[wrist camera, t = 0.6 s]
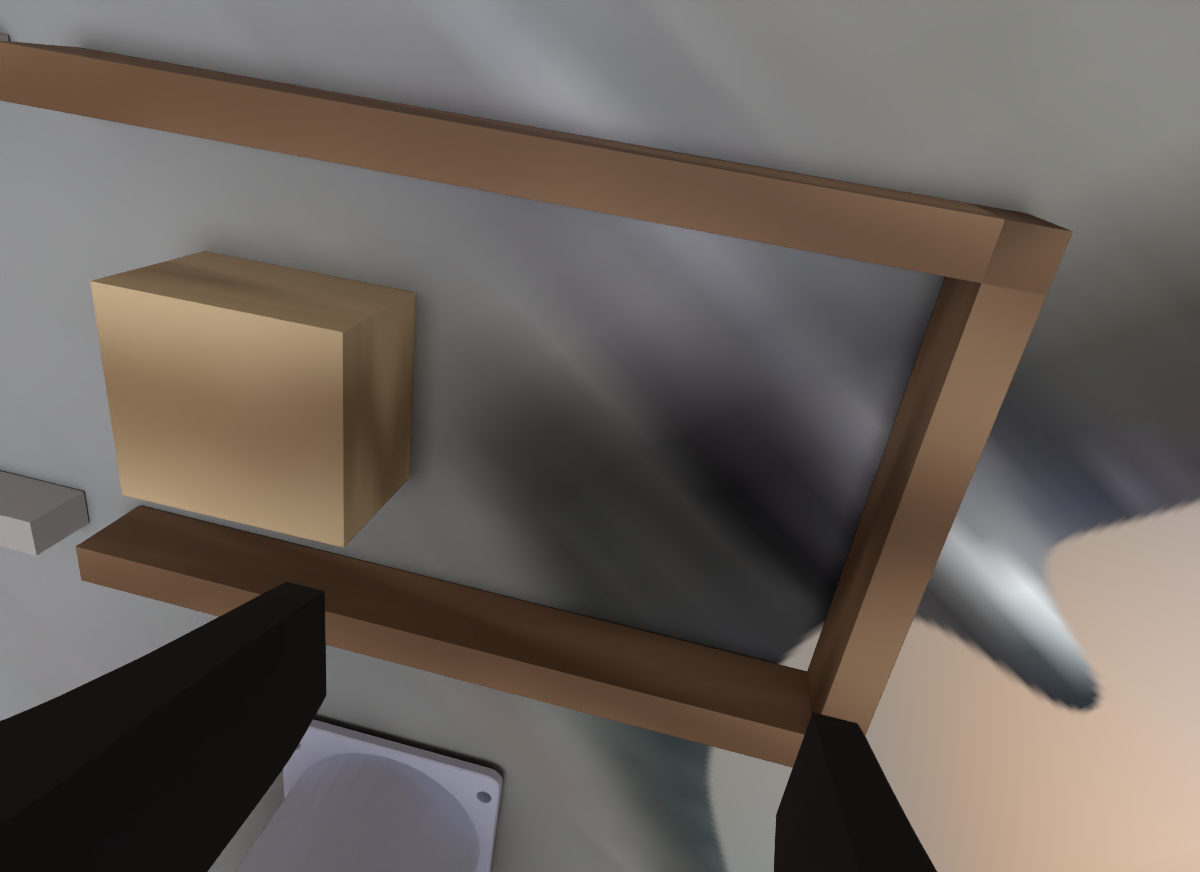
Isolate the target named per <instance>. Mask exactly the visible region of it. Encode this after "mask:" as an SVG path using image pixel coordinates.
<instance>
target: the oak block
mask: <svg viewBox="0 0 1200 872" xmlns="http://www.w3.org/2000/svg"><path fill="white" fill-rule="evenodd" d="M90 282H91V289H92V296H93V302H94V309H95V316H96V322H97V329H98V336H99V342H100V349H101V356H102V362H103V369H104V376H105V382H106V389H107V396H108V402H109V409H110V416H111V422H112V429H113V436H114V442H115V449H116V456H117V462H118V469H119V476H120V482H121V489H122V495H125V496H129V497H133V498H137V499H141V500H146V501H150V502H154V503H158V504H162V505H167V506H171V507H175V508H179V509H183V510H188V511H192V512H196V513H200V514H204V515H209V516H213V517H217V518H221V519H225V520H230V521H234V522H238V523H242V524H246V525H251V526H255V527H259V528H263V529H267V530H272V531H276V532H280V533H284V534H288V535H293V536H297V537H301V538H305V539H309V540H314V541H318V542H322V543H326V544H330V545H335V546H339V547H343V548H344V547H345V546H346V545H347V544H348V543H349V542H350V541H351V539H352V538H353V537H354V536H355V535H356V534H357V533H358V532H359V531H360V530H361V529H362V528H363V527H364V526H365V525H366V524H367V522H368V521H369V520H370V519H371V518H372V517H373V516H374V515H375V514H376V513H377V512H378V511H379V510H380V509H381V508H382V506H383V505H384V504H385V503H386V502H387V501H388V500H389V499H390V498H391V497H392V496H393V495H394V494H395V493H396V492H397V491H398V489H399V488H400V487H401V486H402V485H403V484H404V483H405V482H406V481H407V480H408V479H409V474H410V447H411V419H412V391H413V364H414V336H415V309H416V292H412V291H406V290H401V289H396V288H391V287H386V286H381V285H376V284H370V283H365V282H360V281H355V280H350V279H345V278H339V277H334V276H329V275H324V274H319V273H314V272H309V271H303V270H298V269H293V268H288V267H283V266H278V265H273V264H267V263H262V262H257V261H252V260H247V259H242V258H236V257H231V256H226V255H221V254H216V253H211V252H206V251H204V252H200V253H196V254H192V255H189V256H185V257H181V258H177V259H173V260H169V261H166V262H162V263H158V264H154V265H150V266H146V267H143V268H139V269H135V270H131V271H127V272H123V273H120V274H116V275H112V276H108V277H104V278H100V279H97V280H93V281H90Z"/></svg>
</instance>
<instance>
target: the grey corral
mask: <svg viewBox="0 0 1200 872" xmlns="http://www.w3.org/2000/svg"><path fill="white" fill-rule="evenodd" d="M0 41H9V39H8V35H5V34H0ZM88 523H89V521H88V515H87V509H86V503H85V497H84V492H83V491H79V490H75V489H71V488H67V487H63V486H59V485H55V484H51V483H47V482H43V481H39V480H35V479H31V478H27V477H23V476H19V475H15V474H11V473H6V472H2V471H0V546H2V547H6V548H10V549H13V550H17V551H21V552H25V553H29V554H33V555H36V556H37V555H38V554H40V553H41V552H43V551H45V550H46V549H48V548H49V547H51V546H53V545H54V544H56V543H58V542H59V541H61V540H62V539H64V538H66V537H67V536H69V535H70V534H72V533H74V532H75V531H77V530H78V529H80V528H82V527H83V526H85V525H86V524H88Z"/></svg>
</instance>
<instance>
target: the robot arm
mask: <svg viewBox="0 0 1200 872" xmlns="http://www.w3.org/2000/svg"><path fill="white" fill-rule="evenodd" d="M325 697H326V639H325V591H323V590H319V589H315V588H311V587H307V586H303V585H299V584H295V583H291V582H285V583H283V584H281V585H279V586H277V587H275V588H273V589H271V590H269V591H267V592H265V593H263V594H261V595H259V596H257V597H255V598H254V599H252V600H250V601H248V602H246V603H244V604H242V605H240V606H238V607H237V608H235V609H233V610H231V611H229V612H227V613H225V614H223V615H222V616H220V617H218V618H216V619H214V620H212V621H210V622H208V623H207V624H205V625H203V626H201V627H199V628H197V629H195V630H193V631H191V632H189V633H187V634H185V635H184V636H182V637H180V638H178V639H176V640H174V641H172V642H170V643H168V644H166V645H164V646H162V647H160V648H158V649H157V650H155V651H153V652H151V653H149V654H147V655H145V656H143V657H141V658H139V659H137V660H135V661H133V662H130V663H128V664H126V665H124V666H122V667H120V668H118V669H116V670H114V671H111V672H109V673H107V674H105V675H103V676H101V677H99V678H97V679H95V680H92V681H90V682H88V683H86V684H84V685H82V686H80V687H78V688H76V689H73V690H71V691H69V692H67V693H65V694H63V695H61V696H59V697H56V698H54V699H52V700H50V701H47V702H45V703H43V704H40V705H38V706H36V707H33V708H31V709H29V710H26V711H24V712H22V713H19V714H17V715H14V716H12V717H10V718H7V719H5V720H2V721H0V872H207V871H208V870H209V869H210V867H211V866H212V865H213V863H214V862H215V861H216V859H217V858H218V857H219V855H220V854H221V852H222V851H223V850H224V848H225V847H226V846H227V844H228V843H229V842H230V840H231V839H232V838H233V836H234V835H235V834H236V832H237V831H238V830H239V828H240V827H241V826H242V824H243V823H244V821H245V820H246V819H247V817H248V816H249V815H250V813H251V812H252V811H253V809H254V808H255V807H256V805H257V804H258V803H259V801H260V800H261V798H262V797H263V796H264V794H265V793H266V792H267V790H268V789H269V787H270V786H271V785H272V783H273V782H274V781H275V779H276V778H277V777H278V775H279V774H280V772H281V771H282V770H283V788H284V801H283V802H282V803H281V805H280V806H279V808H278V809H277V811H276V812H275V814H274V815H273V817H272V818H271V820H270V821H269V822H268V824H267V825H266V827H265V828H264V830H263V831H262V833H261V834H260V836H259V837H258V839H257V840H256V841H255V843H254V844H253V846H252V847H251V849H250V850H249V852H248V853H247V855H246V856H245V858H244V859H243V860H242V862H241V863H240V865H239V866H238V868H237V869H236V871H235V872H491V866H492V858H493V851H494V843H495V836H496V828H497V821H498V813H499V806H500V798H501V791H502V783H503V782H502V777H501V776H500V774H499V773H498V772H497V771H495V770H493V769H491V768H488V767H484V766H480V765H477V764H473V763H470V762H466V761H462V760H459V759H455V758H451V757H448V756H444V755H441V754H437V753H433V752H430V751H426V750H422V749H419V748H415V747H412V746H408V745H404V744H401V743H397V742H393V741H390V740H386V739H383V738H379V737H375V736H372V735H368V734H364V733H361V732H357V731H354V730H350V729H346V728H343V727H339V726H335V725H332V724H328V723H325V722H321V721H317V720H314V717H315V715H316V713H317V711H318V709H319V708H320V706H321V704H322V702H323V700H324V699H325ZM774 855H775V856H774V872H937V871H936V869H935V867H934V866H933V864H932V862H931V860H930V859H929V857H928V855H927V853H926V851H925V850H924V848H923V846H922V844H921V843H920V841H919V839H918V837H917V835H916V834H915V832H914V830H913V828H912V826H911V825H910V822H909V821H908V819H907V817H906V815H905V813H904V811H903V809H902V807H901V806H900V804H899V802H898V800H897V798H896V796H895V794H894V792H893V790H892V788H891V786H890V784H889V783H888V781H887V779H886V777H885V775H884V773H883V771H882V769H881V767H880V765H879V763H878V761H877V759H876V757H875V755H874V753H873V751H872V749H871V747H870V745H869V743H868V741H867V739H866V737H865V735H864V733H863V731H862V729H861V728H860V726H859V725H858V723H855V722H851V721H847V720H842V719H838V718H834V717H830V716H826V715H822V714H818V713H814V712H812V715H811V718H810V721H809V724H808V726H807V729H806V732H805V735H804V738H803V741H802V743H801V746H800V749H799V752H798V755H797V758H796V760H795V763H794V766H793V769H792V772H791V775H790V778H789V780H788V783H787V786H786V789H785V792H784V795H783V797H782V800H781V803H780V806H779V809H778V811H777V814H776V833H775V854H774Z"/></svg>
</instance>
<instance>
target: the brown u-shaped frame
mask: <svg viewBox="0 0 1200 872" xmlns="http://www.w3.org/2000/svg"><path fill="white" fill-rule="evenodd" d="M0 100H1V101H6V102H12V103H17V104H22V105H28V106H33V107H39V108H44V109H49V110H55V111H60V112H65V113H71V114H76V115H81V116H87V117H92V118H98V119H103V120H108V121H114V122H119V123H124V124H130V125H135V126H141V127H146V128H151V129H157V130H162V131H167V132H173V133H178V134H183V135H189V136H194V137H200V138H205V139H210V140H216V141H221V142H226V143H232V144H237V145H242V146H248V147H253V148H259V149H264V150H269V151H275V152H280V153H285V154H291V155H296V156H301V157H307V158H312V159H318V160H323V161H328V162H334V163H339V164H344V165H350V166H355V167H360V168H366V169H371V170H377V171H382V172H387V173H393V174H398V175H403V176H409V177H414V178H419V179H425V180H430V181H436V182H441V183H446V184H452V185H457V186H462V187H468V188H473V189H478V190H484V191H489V192H495V193H500V194H505V195H511V196H516V197H521V198H527V199H532V200H537V201H543V202H548V203H554V204H559V205H564V206H570V207H575V208H580V209H586V210H591V211H596V212H602V213H607V214H613V215H618V216H623V217H629V218H634V219H639V220H645V221H650V222H655V223H661V224H666V225H672V226H677V227H682V228H688V229H693V230H698V231H704V232H709V233H714V234H720V235H725V236H731V237H736V238H741V239H747V240H752V241H757V242H763V243H768V244H774V245H779V246H784V247H790V248H795V249H800V250H806V251H811V252H816V253H822V254H827V255H833V256H838V257H843V258H849V259H854V260H859V261H865V262H870V263H875V264H881V265H886V266H892V267H897V268H902V269H908V270H913V271H918V272H924V273H929V274H934V275H940V276H945V279H944V282H943V285H942V288H941V290H940V293H939V296H938V299H937V302H936V305H935V308H934V310H933V313H932V316H931V319H930V322H929V325H928V328H927V331H926V333H925V336H924V339H923V342H922V345H921V348H920V351H919V353H918V356H917V359H916V362H915V365H914V368H913V371H912V373H911V376H910V379H909V382H908V385H907V388H906V391H905V394H904V396H903V399H902V402H901V405H900V408H899V411H898V414H897V416H896V419H895V422H894V425H893V428H892V431H891V434H890V436H889V439H888V442H887V445H886V448H885V451H884V454H883V456H882V459H881V462H880V465H879V468H878V471H877V474H876V477H875V479H874V482H873V485H872V488H871V491H870V494H869V497H868V499H867V502H866V505H865V508H864V511H863V514H862V517H861V519H860V522H859V525H858V528H857V531H856V534H855V537H854V540H853V542H852V545H851V548H850V551H849V554H848V557H847V560H846V562H845V565H844V568H843V571H842V574H841V577H840V580H839V582H838V585H837V588H836V591H835V594H834V597H833V600H832V602H831V605H830V608H829V611H828V614H827V617H826V620H825V623H824V625H823V628H822V631H821V634H820V638H819V640H818V643H817V646H816V648H815V651H814V654H813V657H812V660H811V663H810V666H809V668H808V671H803V670H799V669H795V668H790V667H787V666H783V665H779V664H775V663H771V662H767V661H763V660H759V659H755V658H751V657H746V656H742V655H738V654H734V653H730V652H726V651H722V650H718V649H714V648H710V647H706V646H702V645H698V644H694V643H690V642H686V641H682V640H678V639H674V638H670V637H666V636H662V635H658V634H654V633H650V632H646V631H642V630H638V629H634V628H630V627H626V626H622V625H618V624H614V623H610V622H606V621H602V620H598V619H594V618H590V617H586V616H582V615H578V614H574V613H570V612H566V611H561V610H557V609H553V608H549V607H545V606H541V605H537V604H533V603H529V602H525V601H521V600H517V599H513V598H509V597H505V596H501V595H497V594H493V593H489V592H485V591H481V590H477V589H473V588H469V587H465V586H461V585H457V584H453V583H449V582H445V581H441V580H437V579H433V578H429V577H425V576H421V575H417V574H413V573H409V572H405V571H401V570H397V569H393V568H389V567H385V566H381V565H376V564H372V563H368V562H364V561H360V560H356V559H352V558H348V557H344V556H340V555H336V554H332V553H328V552H324V551H320V550H316V549H312V548H308V547H304V546H300V545H296V544H292V543H288V542H284V541H280V540H276V539H272V538H268V537H264V536H260V535H256V534H252V533H248V532H244V531H240V530H236V529H232V528H228V527H224V526H220V525H216V524H212V523H208V522H204V521H200V520H196V519H191V518H187V517H183V516H179V515H175V514H171V513H167V512H163V511H159V510H155V509H151V508H147V507H143V506H138V507H136V508H135V509H133V510H132V511H130V512H129V513H127V514H126V515H124V516H122V517H121V518H119V519H118V520H116V521H115V522H113V523H112V524H110V525H108V526H107V527H105V528H104V529H102V530H101V531H99V532H98V533H96V534H95V535H93V536H91V537H90V538H88V539H87V540H85V541H84V542H82V543H81V544H79V545H77V546H76V551H77V557H78V563H79V568H80V574H81V579H82V580H83V581H87V582H91V583H94V584H98V585H102V586H106V587H109V588H113V589H117V590H121V591H125V592H128V593H132V594H136V595H140V596H144V597H147V598H151V599H155V600H159V601H163V602H166V603H170V604H174V605H178V606H182V607H185V608H189V609H193V610H197V611H201V612H204V613H208V614H212V615H216V616H222V615H223V614H225V613H227V612H229V611H231V610H233V609H235V608H237V607H238V606H240V605H242V604H244V603H246V602H248V601H250V600H252V599H254V598H255V597H257V596H259V595H261V594H263V593H265V592H267V591H269V590H271V589H273V588H275V587H277V586H279V585H281V584H283V583H285V582H291V583H295V584H299V585H303V586H307V587H311V588H315V589H319V590H323V591H325V639H326V645H330V646H333V647H337V648H341V649H345V650H349V651H352V652H356V653H360V654H364V655H368V656H371V657H375V658H379V659H383V660H387V661H390V662H394V663H398V664H402V665H406V666H409V667H413V668H417V669H421V670H425V671H428V672H432V673H436V674H440V675H444V676H447V677H451V678H455V679H459V680H463V681H466V682H470V683H474V684H478V685H482V686H485V687H489V688H493V689H497V690H501V691H504V692H508V693H512V694H516V695H520V696H523V697H527V698H531V699H535V700H539V701H542V702H546V703H550V704H554V705H557V706H561V707H565V708H569V709H573V710H576V711H580V712H584V713H588V714H592V715H595V716H599V717H603V718H607V719H611V720H614V721H618V722H622V723H626V724H630V725H633V726H637V727H641V728H645V729H649V730H652V731H656V732H660V733H664V734H668V735H671V736H675V737H679V738H683V739H687V740H690V741H694V742H698V743H702V744H706V745H709V746H713V747H717V748H721V749H725V750H729V751H733V752H736V753H740V754H744V755H747V756H751V757H755V758H759V759H763V760H766V761H770V762H774V763H778V764H781V765H785V766H789V767H793V766H794V763H795V760H796V758H797V755H798V752H799V749H800V746H801V743H802V741H803V738H804V735H805V732H806V729H807V726H808V724H809V721H810V718H811V715H812V712H814V713H818V714H822V715H826V716H830V717H834V718H838V719H842V720H847V721H851V722H855V723H858V725H859V726H860V728H861V729H862V731H863V733H864V735H866V732H867V730H868V728H869V725H870V723H871V720H872V718H873V715H874V713H875V711H876V708H877V706H878V703H879V701H880V698H881V696H882V693H883V691H884V689H885V686H886V684H887V681H888V679H889V677H890V674H891V672H892V669H893V667H894V664H895V662H896V660H897V657H898V655H899V652H900V650H901V647H902V645H903V643H904V640H905V638H906V635H907V633H908V630H909V628H910V626H911V623H912V621H913V618H914V616H915V614H916V611H917V609H918V606H919V604H920V601H921V599H922V597H923V594H924V592H925V589H926V587H927V584H928V582H929V580H930V577H931V575H932V572H933V570H934V567H935V565H936V563H937V560H938V558H939V555H940V553H941V550H942V548H943V546H944V543H945V541H946V538H947V536H948V533H949V531H950V529H951V526H952V524H953V521H954V519H955V516H956V514H957V512H958V509H959V507H960V504H961V502H962V499H963V497H964V495H965V492H966V490H967V487H968V485H969V482H970V480H971V478H972V475H973V473H974V470H975V468H976V465H977V463H978V461H979V458H980V456H981V453H982V451H983V448H984V446H985V444H986V441H987V439H988V436H989V434H990V431H991V429H992V427H993V424H994V422H995V419H996V417H997V414H998V412H999V410H1000V407H1001V405H1002V402H1003V400H1004V397H1005V395H1006V393H1007V390H1008V388H1009V385H1010V383H1011V380H1012V378H1013V376H1014V373H1015V371H1016V368H1017V366H1018V363H1019V361H1020V359H1021V356H1022V354H1023V351H1024V349H1025V346H1026V344H1027V342H1028V339H1029V337H1030V334H1031V332H1032V329H1033V327H1034V325H1035V322H1036V320H1037V317H1038V315H1039V312H1040V310H1041V308H1042V305H1043V303H1044V300H1045V298H1046V295H1047V293H1048V291H1049V288H1050V286H1051V283H1052V281H1053V278H1054V276H1055V274H1056V271H1057V269H1058V266H1059V264H1060V261H1061V259H1062V257H1063V254H1064V252H1065V249H1066V247H1067V244H1068V242H1069V240H1070V237H1071V235H1072V232H1073V231H1070V230H1068V229H1065V228H1063V227H1060V226H1058V225H1055V224H1053V223H1050V222H1048V221H1045V220H1043V219H1040V218H1038V217H1035V216H1033V215H1030V214H1026V213H1021V212H1015V211H1009V210H1003V209H998V208H992V207H986V206H981V205H975V204H969V203H963V202H958V201H952V200H946V199H941V198H935V197H929V196H924V195H918V194H912V193H906V192H901V191H895V190H889V189H884V188H878V187H872V186H866V185H861V184H855V183H849V182H844V181H838V180H832V179H826V178H821V177H815V176H809V175H804V174H798V173H792V172H787V171H781V170H775V169H769V168H764V167H758V166H752V165H747V164H741V163H735V162H729V161H724V160H718V159H712V158H707V157H701V156H695V155H690V154H684V153H678V152H672V151H667V150H661V149H655V148H650V147H644V146H638V145H632V144H627V143H621V142H615V141H610V140H604V139H598V138H593V137H587V136H581V135H575V134H570V133H564V132H558V131H553V130H547V129H541V128H535V127H530V126H524V125H518V124H513V123H507V122H501V121H495V120H490V119H484V118H478V117H473V116H467V115H461V114H456V113H450V112H444V111H438V110H433V109H427V108H421V107H416V106H410V105H404V104H398V103H393V102H387V101H381V100H376V99H370V98H364V97H359V96H353V95H347V94H341V93H336V92H330V91H324V90H319V89H313V88H307V87H301V86H296V85H290V84H284V83H279V82H273V81H267V80H261V79H256V78H250V77H244V76H239V75H233V74H227V73H222V72H216V71H210V70H204V69H199V68H193V67H187V66H182V65H176V64H170V63H164V62H159V61H153V60H147V59H142V58H136V57H130V56H125V55H119V54H113V53H107V52H102V51H96V50H90V49H85V48H78V47H67V46H55V45H43V44H32V43H20V42H9V41H0Z"/></svg>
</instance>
